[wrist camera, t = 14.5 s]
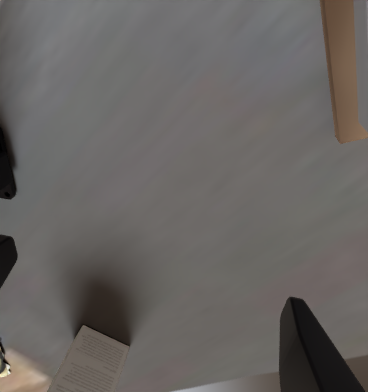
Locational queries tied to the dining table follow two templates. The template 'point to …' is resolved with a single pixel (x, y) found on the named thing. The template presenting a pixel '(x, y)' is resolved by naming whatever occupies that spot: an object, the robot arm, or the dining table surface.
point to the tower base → (342, 68)
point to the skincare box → (91, 364)
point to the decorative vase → (3, 366)
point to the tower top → (361, 59)
